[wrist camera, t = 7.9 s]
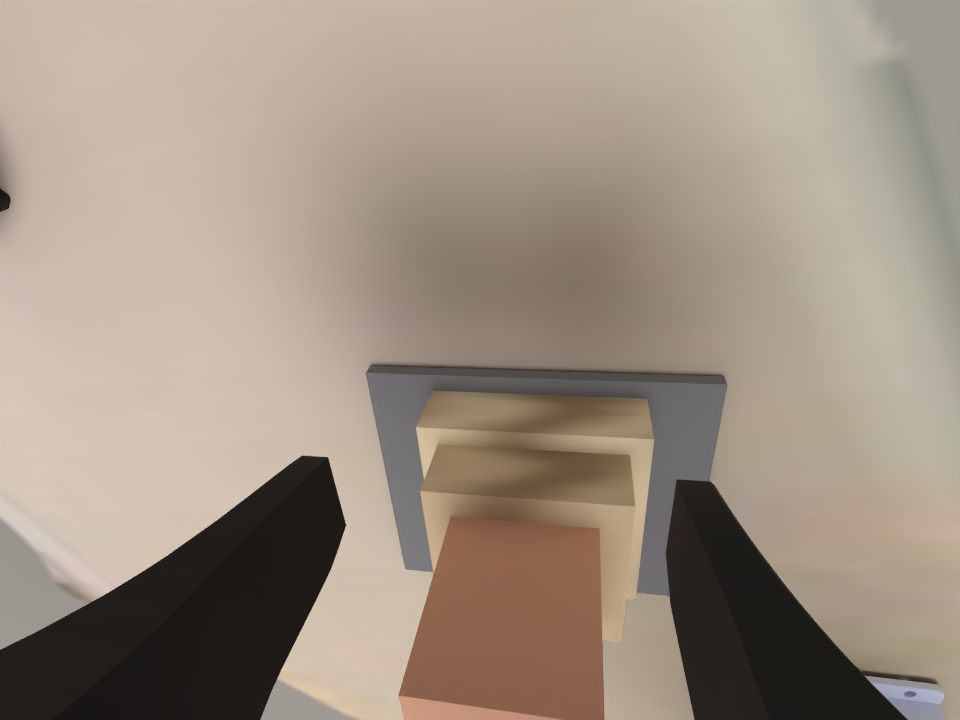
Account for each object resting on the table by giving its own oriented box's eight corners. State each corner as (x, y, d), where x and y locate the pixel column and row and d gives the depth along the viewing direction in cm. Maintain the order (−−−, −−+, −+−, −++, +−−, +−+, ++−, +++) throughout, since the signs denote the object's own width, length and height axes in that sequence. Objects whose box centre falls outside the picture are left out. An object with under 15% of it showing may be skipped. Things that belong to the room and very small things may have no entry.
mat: (723, 375, 20) (726, 384, 20) (685, 586, 26) (687, 597, 26) (370, 365, 23) (365, 373, 22) (408, 560, 29) (405, 569, 28)
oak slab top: (630, 455, 19) (635, 506, 17) (618, 586, 23) (621, 642, 20) (437, 444, 20) (420, 491, 18) (454, 569, 24) (441, 621, 22)
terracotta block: (599, 528, 18) (604, 725, 13) (593, 624, 20) (595, 821, 15) (450, 516, 19) (398, 695, 13) (462, 609, 21) (422, 790, 16)
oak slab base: (647, 398, 21) (654, 439, 19) (631, 552, 25) (635, 600, 23) (432, 390, 22) (416, 427, 20) (451, 536, 26) (439, 579, 24)
